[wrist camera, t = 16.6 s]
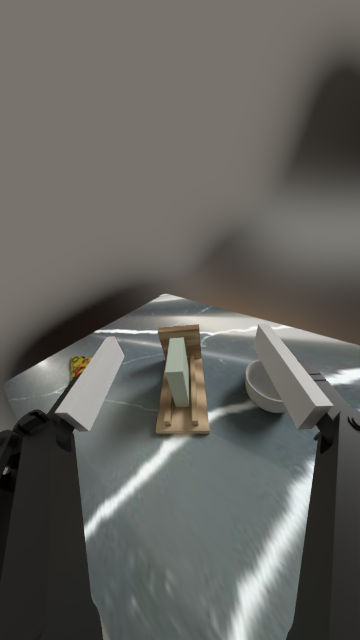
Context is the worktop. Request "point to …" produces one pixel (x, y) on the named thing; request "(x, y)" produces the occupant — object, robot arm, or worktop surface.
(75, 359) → the pizza slice
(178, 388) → the pale green block
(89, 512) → the worktop surface
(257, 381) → the teacup
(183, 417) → the track
